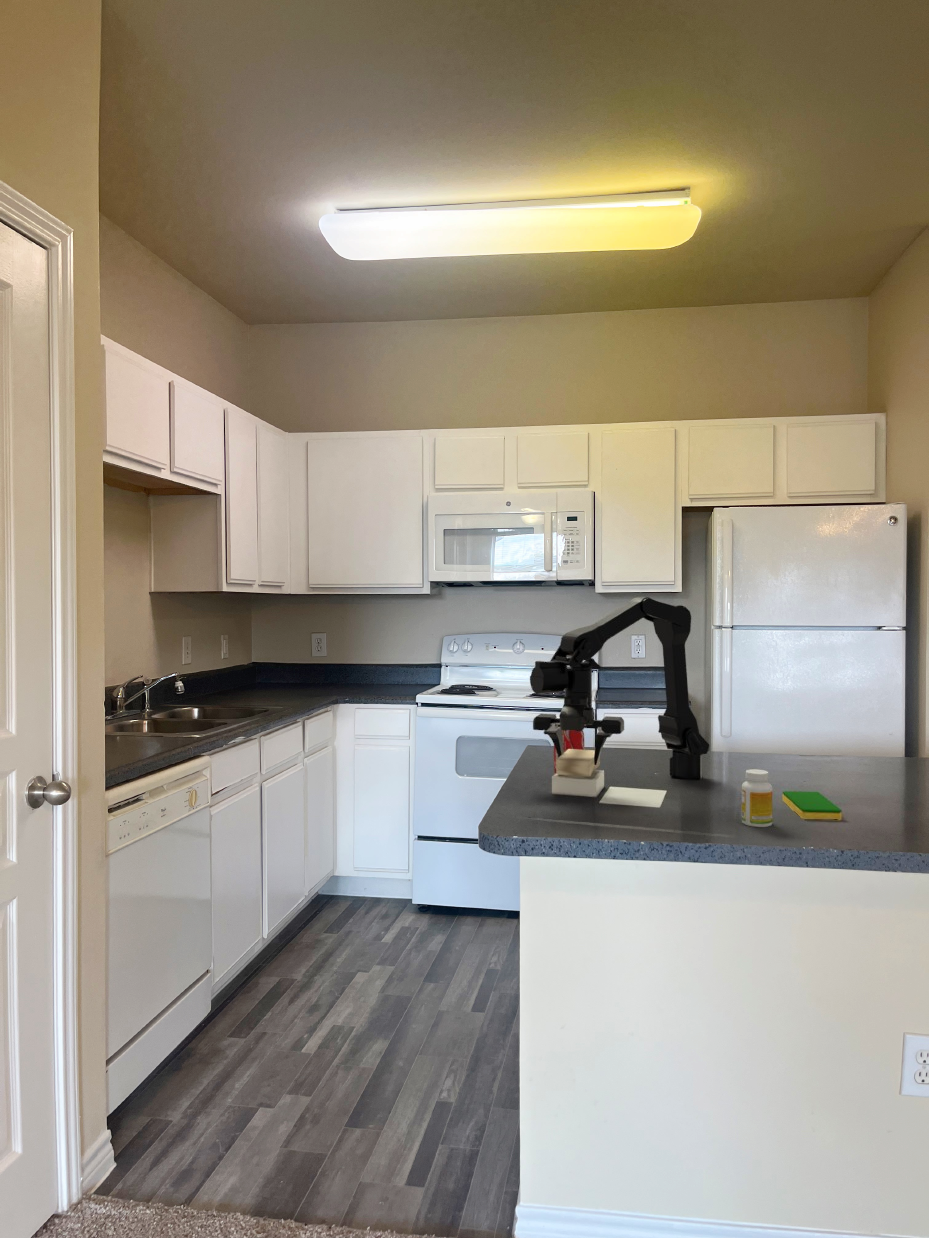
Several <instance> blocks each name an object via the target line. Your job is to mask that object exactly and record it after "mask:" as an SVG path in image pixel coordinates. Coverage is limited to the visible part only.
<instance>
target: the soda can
mask: <svg viewBox="0 0 929 1238" xmlns="http://www.w3.org/2000/svg"><path fill="white" fill-rule="evenodd" d="M559 728H560V727H559ZM562 732H563V750H564V752H565V751H567V750H568V749H578V750H585V732H584V729H583V730H582V731H575V730H567V731H563V730H562ZM558 758H559V757H558V754H557V751H556V748H555V746H554V745H553V770H554V775H555V774H556V760H557V759H558Z"/></svg>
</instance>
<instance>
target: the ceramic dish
mask: <svg viewBox="0 0 929 1238" xmlns="http://www.w3.org/2000/svg"><path fill="white" fill-rule="evenodd" d="M604 787H605V770H601V769H595V771H594V772H593V773H592V774H591V775H590V776H577V775H562V774H555V773H554V774H553V775H552V776H551V795H560V796H561V795H565V796H575V797H576V796H577V797H578V796H579V797H588V798H589V797H591V798H598V796H599V794H600V793H601V791H602V790H604Z"/></svg>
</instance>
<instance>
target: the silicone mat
mask: <svg viewBox="0 0 929 1238" xmlns="http://www.w3.org/2000/svg"><path fill="white" fill-rule="evenodd" d="M666 794H667V790H662V789H649V788H636V787H635V788H634V787H623V786H609V788H608V789H607V791H606V792H605V793H604V795H603V797H602V798H601V799H600V801H599V802H598V803H599V804H607V805H621V806H623V805H624V806H636V807H645V808H646V807H647V808H657V809H658V808H659V809H661V806H662V803H663V801H664V799H665V796H666Z"/></svg>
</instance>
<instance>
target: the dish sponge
mask: <svg viewBox="0 0 929 1238" xmlns="http://www.w3.org/2000/svg"><path fill="white" fill-rule="evenodd" d="M783 801H784V802H785V803H786V804H787V805H786V804H785V803H784V802H783ZM782 802H783V803H784V804H785V805H786V806H788V807H789V808H790V810H792V811H793V812H794V811H795V812H796V813H797V814H798V815H799V816H800V817H799V816H798V817H799V818H801V819H802V818H804V819H839V820H838V821H842V817H843V816H842V815H843V814H842V811H843V810H842V809H841V808H840V807H838V806H837V805H835V804H834V803H833V802H832V801H831V800H829V798H827V797H825V795H823V794H822V793H820V792H819V791H796V790H793V791H792V790H789V791H788V790H784V791H782ZM795 812H794V813H795ZM796 813H795V814H796ZM797 814H796V815H797ZM804 819H803V820H804Z"/></svg>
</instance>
